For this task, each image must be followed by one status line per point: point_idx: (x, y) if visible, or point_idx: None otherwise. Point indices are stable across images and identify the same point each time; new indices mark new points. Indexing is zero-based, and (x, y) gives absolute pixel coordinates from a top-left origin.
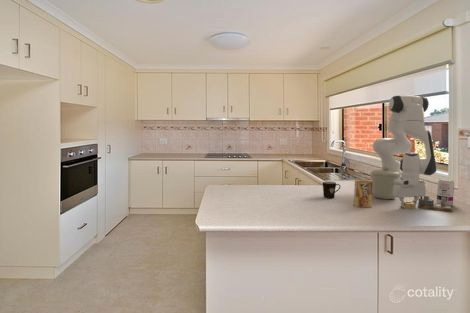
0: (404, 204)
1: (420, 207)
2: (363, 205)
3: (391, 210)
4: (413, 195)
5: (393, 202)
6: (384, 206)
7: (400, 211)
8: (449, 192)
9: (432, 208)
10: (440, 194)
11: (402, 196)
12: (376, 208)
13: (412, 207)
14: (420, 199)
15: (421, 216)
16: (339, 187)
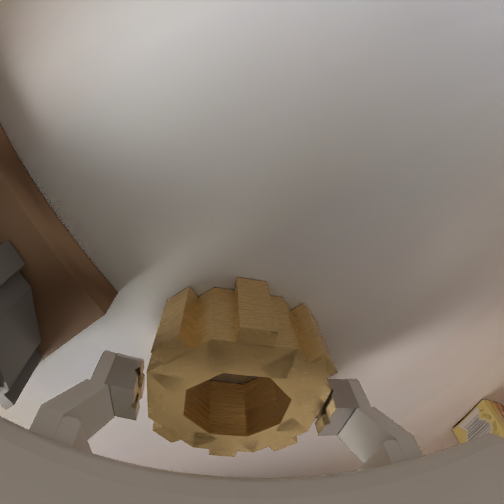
0: (336, 381)
1: (96, 275)
2: (501, 409)
3: (491, 314)
4: (198, 501)
5: (189, 472)
6: (399, 418)
7: (482, 262)
8: None
9: (7, 157)
10: None
11: (456, 458)
12: (488, 377)
13: (269, 297)
14: (8, 380)
15: (485, 36)
16: None
